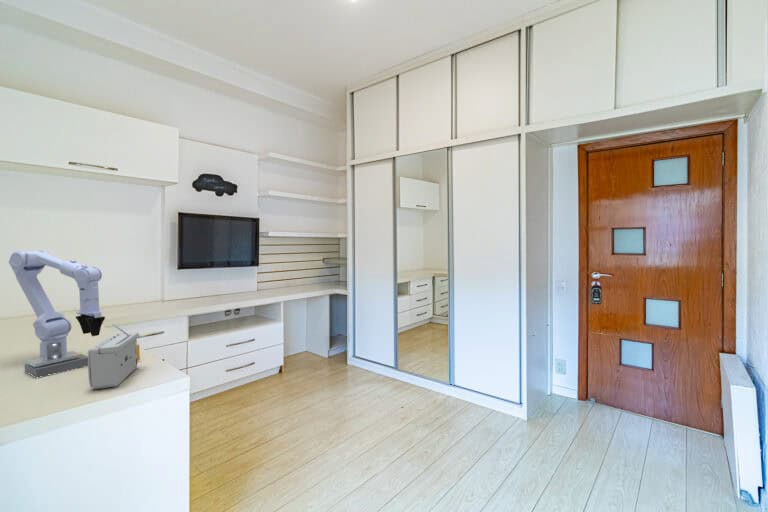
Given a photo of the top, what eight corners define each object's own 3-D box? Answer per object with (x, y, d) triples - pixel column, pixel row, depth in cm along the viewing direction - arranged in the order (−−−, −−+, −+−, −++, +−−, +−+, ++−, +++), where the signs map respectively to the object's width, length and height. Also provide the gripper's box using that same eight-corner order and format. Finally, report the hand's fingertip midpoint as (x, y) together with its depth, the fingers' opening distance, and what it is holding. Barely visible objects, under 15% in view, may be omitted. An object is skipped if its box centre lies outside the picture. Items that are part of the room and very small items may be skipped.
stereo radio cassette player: (115, 369, 133) (112, 314, 132) (141, 367, 136) (139, 312, 135) (87, 392, 113) (84, 327, 113) (119, 388, 116) (116, 324, 115)
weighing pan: (26, 363, 130) (26, 360, 130) (72, 353, 141) (72, 351, 141) (34, 367, 126) (34, 364, 126) (81, 356, 137) (81, 354, 137)
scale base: (24, 372, 132) (24, 362, 132) (76, 360, 145) (76, 351, 144) (36, 378, 126) (36, 368, 125) (90, 365, 138) (89, 356, 138)
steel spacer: (45, 358, 133) (44, 344, 133) (59, 355, 137) (58, 341, 136) (49, 359, 131) (48, 345, 131) (63, 356, 134) (63, 343, 134)
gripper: (68, 299, 143) (70, 334, 143) (84, 302, 135) (86, 339, 135) (90, 296, 148) (92, 330, 149) (107, 299, 141) (108, 335, 141)
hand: (91, 334), depth 143 cm, fingers open, 7 cm apart
